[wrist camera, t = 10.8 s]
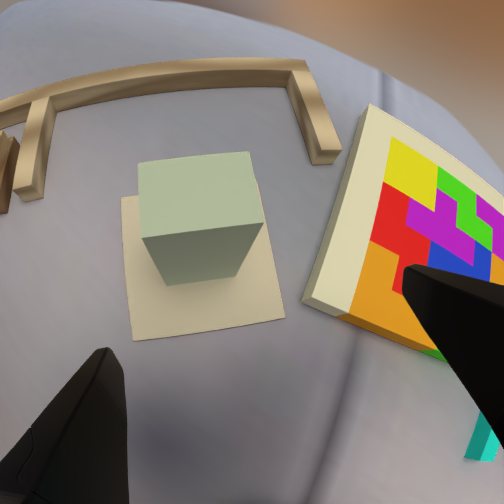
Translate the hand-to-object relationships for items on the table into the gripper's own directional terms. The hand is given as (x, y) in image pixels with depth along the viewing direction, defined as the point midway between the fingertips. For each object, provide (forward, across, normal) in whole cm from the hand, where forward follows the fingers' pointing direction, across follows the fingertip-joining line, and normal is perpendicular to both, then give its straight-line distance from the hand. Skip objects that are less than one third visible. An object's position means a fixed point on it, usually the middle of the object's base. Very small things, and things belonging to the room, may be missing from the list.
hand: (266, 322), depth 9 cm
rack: (+23, +7, -6) cm, 25 cm away
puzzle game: (+11, -20, +14) cm, 27 cm away
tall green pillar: (+14, +2, +4) cm, 15 cm away
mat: (+15, +2, +4) cm, 15 cm away
